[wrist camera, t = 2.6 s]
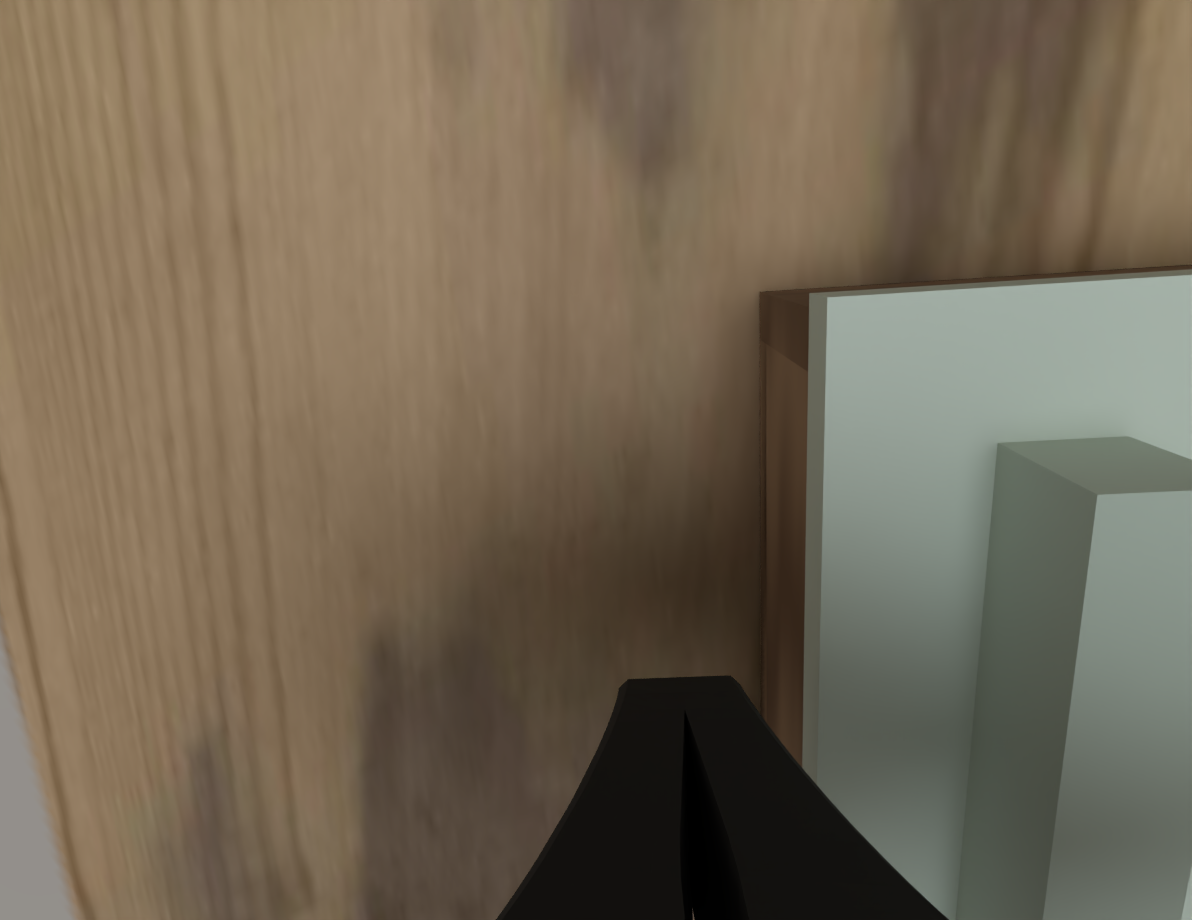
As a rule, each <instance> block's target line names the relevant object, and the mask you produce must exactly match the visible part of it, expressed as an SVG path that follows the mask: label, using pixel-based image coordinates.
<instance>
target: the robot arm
mask: <svg viewBox="0 0 1192 920" xmlns="http://www.w3.org/2000/svg"><path fill="white" fill-rule="evenodd" d="M692 907H693V913H694V918H695V920H949V919H948V918H947V917H946V916H944V915H943V914H942V913H941V912H940V911H939V910H938V909H937V908H936V907H934V906H933V905H932V904H931V903H930V902H929V901H928V900H927V899H926V898H925V897H924V896H923V895H922V894H921V893H920V892H918V891H917V890H916V889H915V888H914V887H913V886H912V885H911V884H910V883H909V882H908V881H907V880H906V879H905V878H904V877H903V876H902V875H901V874H900V873H899V872H898V871H897V870H896V869H895V868H894V867H893V866H892V865H891V864H890V863H889V862H888V861H887V860H886V859H885V858H884V857H883V856H882V855H881V854H880V853H879V852H878V851H877V850H876V849H875V848H874V847H873V846H872V845H871V844H870V843H869V842H868V841H867V840H866V839H865V838H864V836H863V835H862V834H861V833H860V832H859V831H858V830H857V829H856V828H855V827H854V826H853V825H852V824H851V823H850V822H849V821H848V820H847V818H846V817H845V816H844V815H843V814H842V813H841V812H840V811H839V810H838V809H837V808H836V806H835V805H834V804H833V803H832V802H831V801H830V800H829V799H828V797H827V796H826V795H825V794H824V793H823V792H822V790H821V789H820V788H819V787H818V786H817V785H816V783H815V782H814V781H813V780H812V779H811V778H810V776H809V775H808V774H807V773H806V772H805V771H804V769H803V768H802V767H801V766H800V765H799V764H798V762H797V761H796V760H795V759H794V758H793V756H792V755H791V754H790V753H789V751H788V750H787V749H786V748H785V746H784V745H783V744H782V743H781V741H780V740H779V739H778V737H777V736H776V735H775V733H774V732H773V731H772V729H771V728H770V727H769V726H768V724H767V723H766V722H765V720H764V719H763V717H762V716H761V715H760V713H759V712H758V711H757V709H756V708H755V706H754V705H753V704H752V702H751V701H750V699H749V698H748V696H747V695H746V693H745V692H744V690H743V689H742V687H741V685H740V684H739V683H738V682H737V681H736V680H735V679H734V678H733V677H731V676H703V677H676V678H649V679H628V680H627V681H626V682H625V683H624V684H623V685H622V686H621V687H620V688H619V692H618V696H617V700H616V703H615V706H614V710H613V713H612V715H611V718H610V721H609V723H608V726H607V728H606V731H605V733H604V735H603V738H602V740H601V742H600V744H599V747H598V749H597V751H596V753H595V755H594V757H593V759H592V761H591V763H590V765H589V767H588V769H587V771H586V773H585V775H584V777H583V779H582V781H581V783H580V785H579V787H578V789H577V791H576V793H575V795H574V797H573V799H572V801H571V803H570V804H569V806H568V808H567V810H566V811H565V813H564V815H563V816H562V818H561V820H560V821H559V823H558V825H557V826H556V828H555V830H554V832H553V833H552V835H551V837H550V838H549V840H548V842H547V843H546V845H545V847H544V848H543V850H542V852H541V853H540V855H539V857H538V858H537V860H536V862H535V863H534V865H533V866H532V868H531V869H530V871H529V872H528V874H527V876H526V877H525V879H524V880H523V882H522V883H521V885H520V886H519V888H518V889H517V891H516V892H515V894H514V895H513V896H512V898H511V899H510V901H509V902H508V904H507V905H506V907H505V908H504V909H503V911H502V912H501V914H500V915H499V916H498V918H497V919H496V920H693V914H692Z"/></svg>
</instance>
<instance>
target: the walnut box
mask: <svg viewBox="0 0 1192 920" xmlns="http://www.w3.org/2000/svg"><path fill="white" fill-rule="evenodd" d="M1189 269H1192V265H1180V266H1164V267H1148V268H1132V269H1117V270H1101V271H1085V272H1069V273H1053V274H1037V275H1021V276H1005V277H989V278H973V279H957V280H941V281H925V282H909V283H893V284H877V285H861V286H846V287H830V288H814V289H798V290H782V291H766V292H760V555H761V716H762V717H763V719H764V720H765V722H766V723H767V724H768V726H769V727H770V728H771V729H772V731H773V732H774V733H775V735H776V736H777V737H778V739H779V740H780V741H781V743H782V744H783V745H784V746H785V748H786V749H787V750H788V751H789V753H790V754H791V755H792V756H793V758H794V759H795V760H796V761H797V762H798V764H799V765H800V766H801V767H802V752H803V685H804V618H805V551H806V484H807V417H808V350H809V293H821V292H837V291H853V290H869V289H885V288H901V287H917V286H933V285H949V284H965V283H981V282H997V281H1013V280H1029V279H1045V278H1061V277H1077V276H1093V275H1109V274H1125V273H1141V272H1157V271H1173V270H1189Z"/></svg>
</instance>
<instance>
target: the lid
mask: <svg viewBox="0 0 1192 920" xmlns="http://www.w3.org/2000/svg"><path fill="white" fill-rule="evenodd" d="M802 768H803V769H804V771H805V772H806V773H807V774H808V775H809V776H810V778H811V779H812V780H813V781H814V782H815V783H816V785H817V786H818V787H819V788H820V789H821V790H822V792H823V793H824V794H825V795H826V796H827V797H828V799H829V800H830V801H831V802H832V803H833V804H834V805H835V806H836V808H837V809H838V810H839V811H840V812H841V813H842V814H843V815H844V816H845V817H846V818H847V820H848V821H849V822H850V823H851V824H852V825H853V826H854V827H855V828H856V829H857V830H858V831H859V832H860V833H861V834H862V835H863V836H864V838H865V839H866V840H867V841H868V842H869V843H870V844H871V845H872V846H873V847H874V848H875V849H876V850H877V851H878V852H879V853H880V854H881V855H882V856H883V857H884V858H885V859H886V860H887V861H888V862H889V863H890V864H891V865H892V866H893V867H894V868H895V869H896V870H897V871H898V872H899V873H900V874H901V875H902V876H903V877H904V878H905V879H906V880H907V881H908V882H909V883H910V884H911V885H912V886H913V887H914V888H915V889H916V890H917V891H918V892H920V893H921V894H922V895H923V896H924V897H925V898H926V899H927V900H928V901H929V902H930V903H931V904H932V905H933V906H934V907H936V908H937V909H938V910H939V911H940V912H941V913H942V914H943V915H944V916H946V917H947V918H948V919H949V920H1192V269H1189V270H1173V271H1157V272H1141V273H1125V274H1109V275H1093V276H1077V277H1061V278H1045V279H1029V280H1013V281H997V282H981V283H965V284H949V285H933V286H917V287H901V288H885V289H869V290H853V291H837V292H821V293H809V350H808V417H807V484H806V551H805V618H804V685H803V752H802Z"/></svg>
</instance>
